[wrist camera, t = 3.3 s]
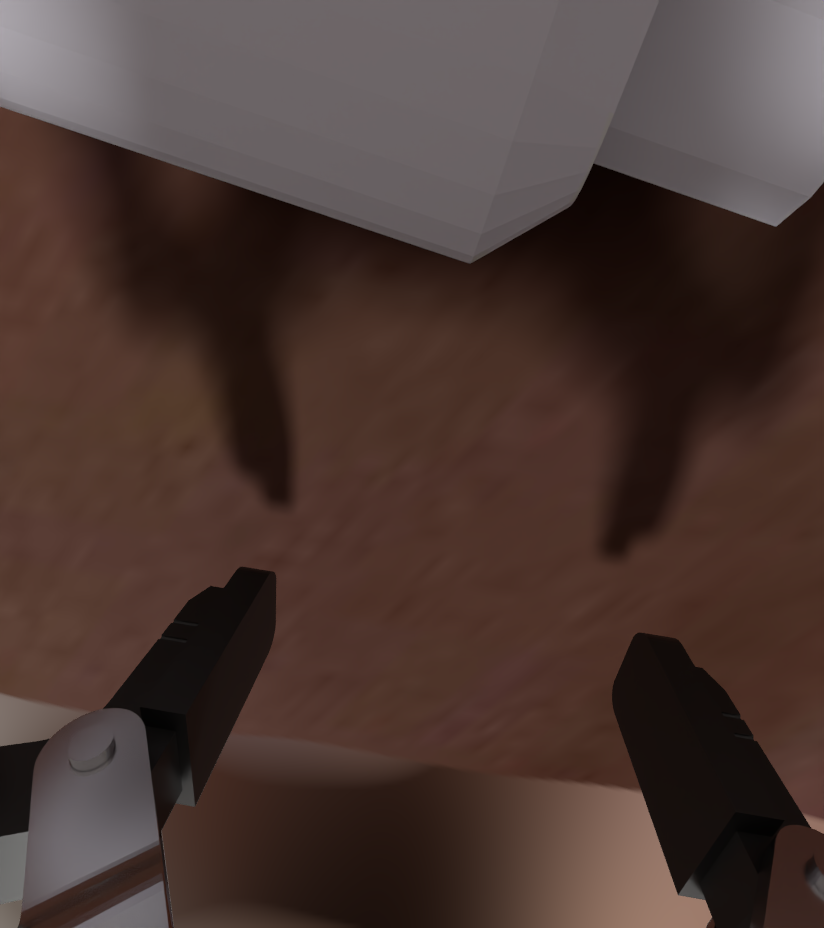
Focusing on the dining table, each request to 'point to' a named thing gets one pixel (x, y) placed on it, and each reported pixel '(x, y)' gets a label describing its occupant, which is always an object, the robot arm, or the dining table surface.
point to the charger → (439, 101)
